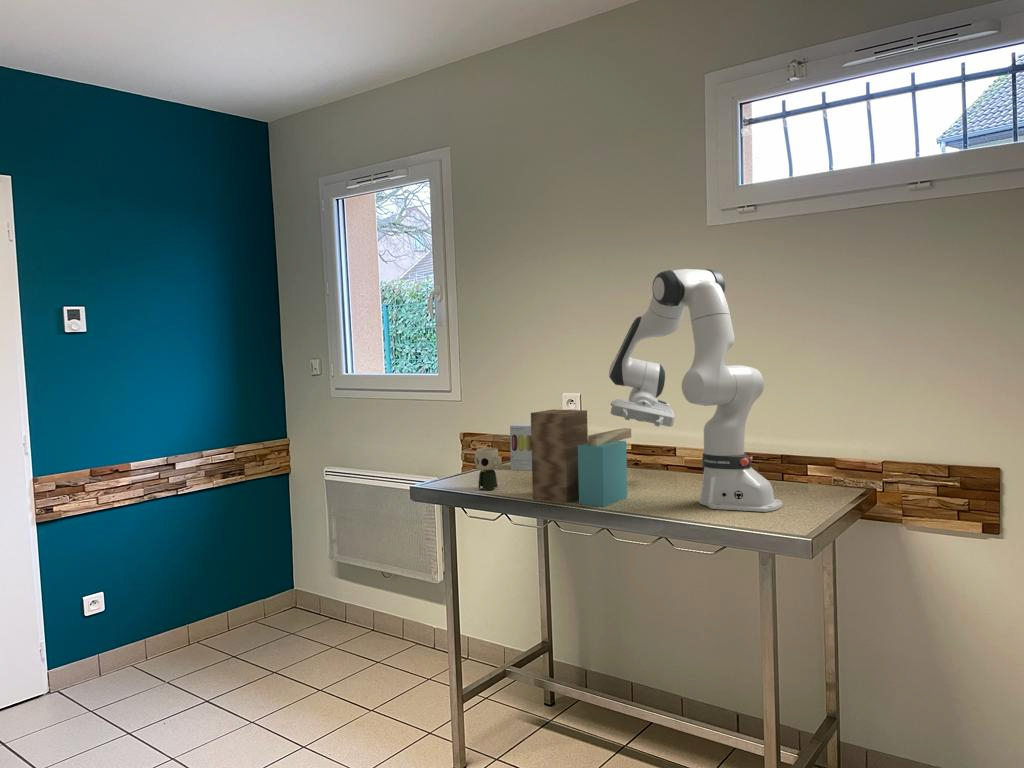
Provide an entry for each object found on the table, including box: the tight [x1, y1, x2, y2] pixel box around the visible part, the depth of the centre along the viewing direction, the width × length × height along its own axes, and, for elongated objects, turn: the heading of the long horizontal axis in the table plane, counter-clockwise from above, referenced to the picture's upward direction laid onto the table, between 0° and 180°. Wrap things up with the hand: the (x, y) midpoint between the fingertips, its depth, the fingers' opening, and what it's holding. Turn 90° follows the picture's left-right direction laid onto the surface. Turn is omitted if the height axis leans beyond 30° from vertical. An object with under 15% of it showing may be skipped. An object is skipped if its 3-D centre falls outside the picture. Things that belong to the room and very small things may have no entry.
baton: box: [588, 427, 632, 446], centre depth 231 cm, size 3×22×3 cm, turn 145°
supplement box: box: [509, 422, 532, 471], centre depth 292 cm, size 10×9×17 cm
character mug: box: [474, 447, 501, 490], centre depth 251 cm, size 11×7×13 cm, turn 49°
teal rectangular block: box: [578, 440, 628, 508], centre depth 228 cm, size 8×15×17 cm, turn 145°
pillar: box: [530, 409, 589, 504], centre depth 235 cm, size 12×13×26 cm
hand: (642, 420), depth 242 cm, fingers open, 8 cm apart
